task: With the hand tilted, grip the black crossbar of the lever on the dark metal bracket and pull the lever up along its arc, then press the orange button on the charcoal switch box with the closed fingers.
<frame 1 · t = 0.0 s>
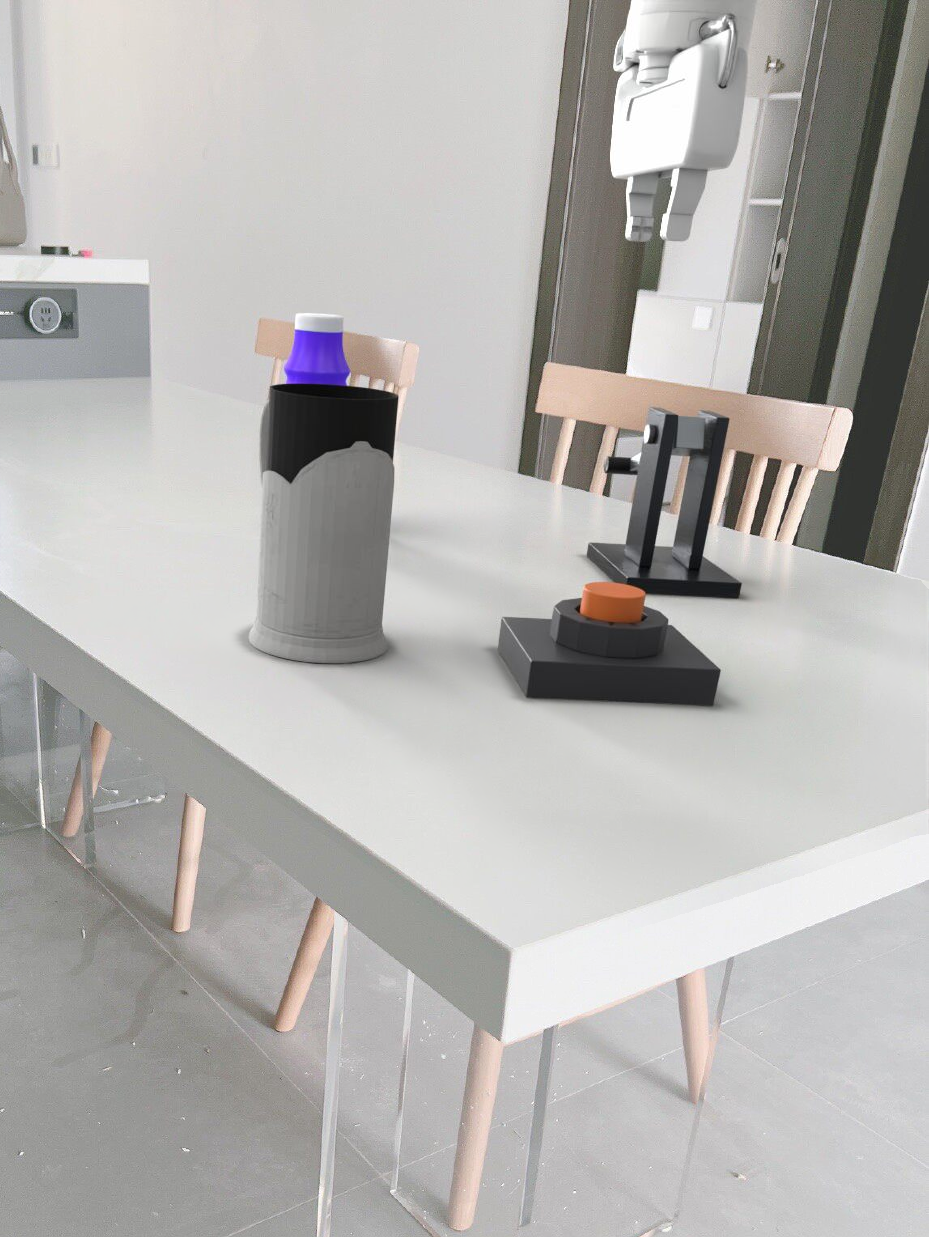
hand: (654, 241, 95), 25 cm above the table, tool pointing down, fingers open, 8 cm apart
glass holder: (299, 632, 79), on the table
button: (612, 604, 72), point 4 cm above the table, slide at 0.1 cm
switch box: (600, 676, 74), on the table
lever: (658, 451, 100), point 9 cm above the table, hinge at -20.0°
bottle: (308, 524, 110), on the table
bracket: (658, 576, 99), on the table
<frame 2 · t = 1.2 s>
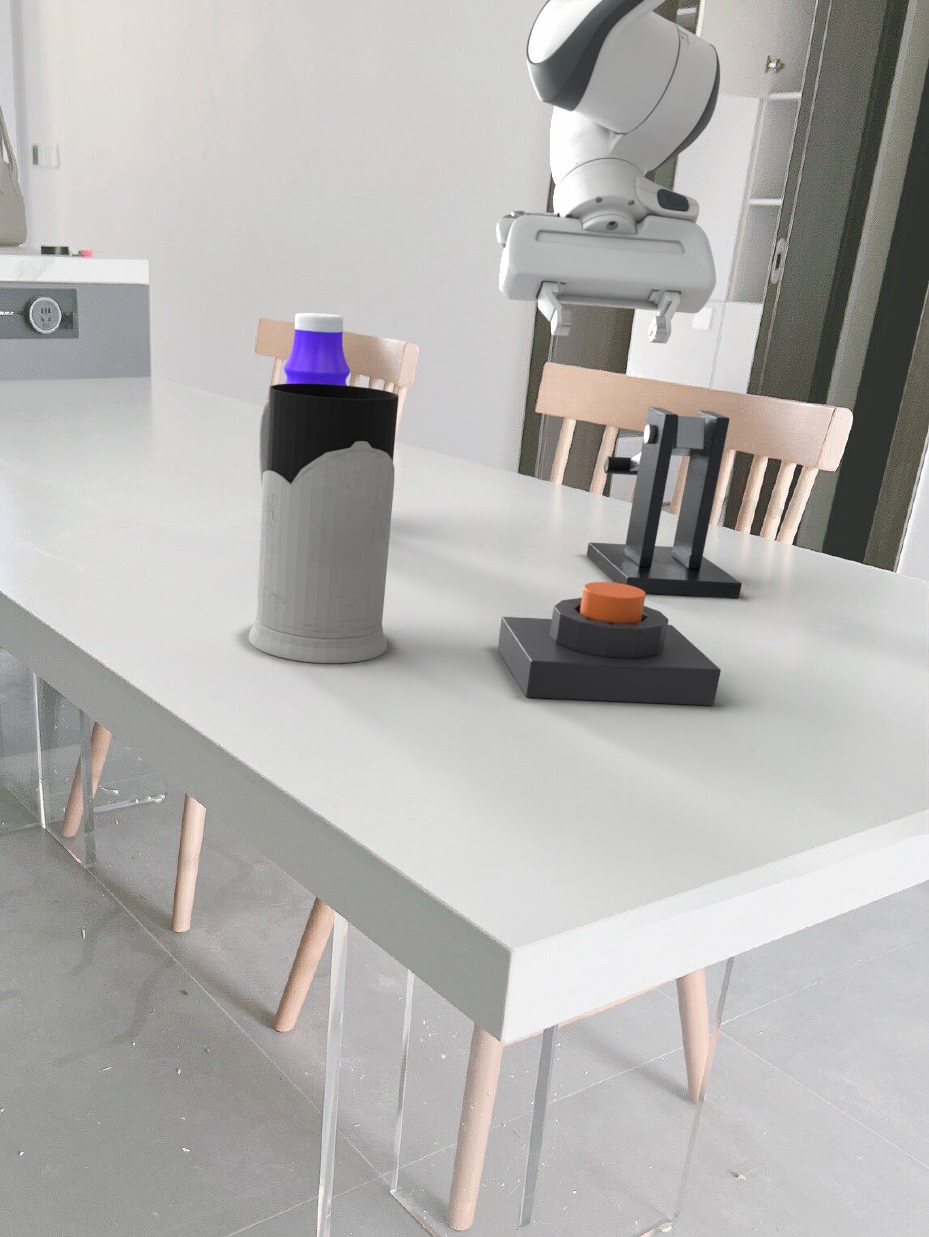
hand: (611, 335, 113), 17 cm above the table, tool tilted 45°, fingers open, 8 cm apart
nothing on the table moved.
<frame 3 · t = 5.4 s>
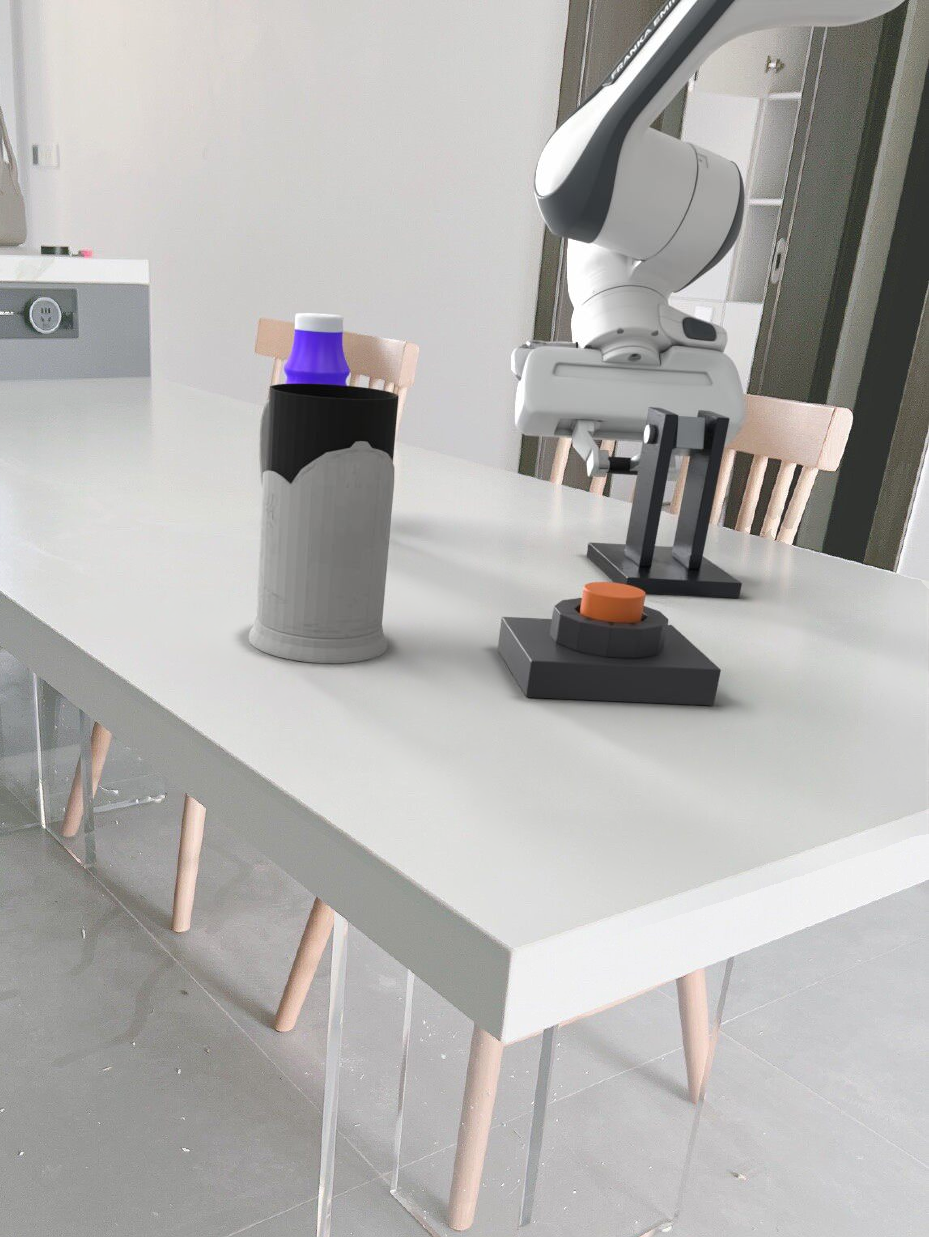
hand: (635, 475, 106), 6 cm above the table, tool tilted 45°, fingers closed on lever, 5 cm apart
lever: (658, 451, 100), point 9 cm above the table, hinge at -20.0°, touching gripper
everything else where it was.
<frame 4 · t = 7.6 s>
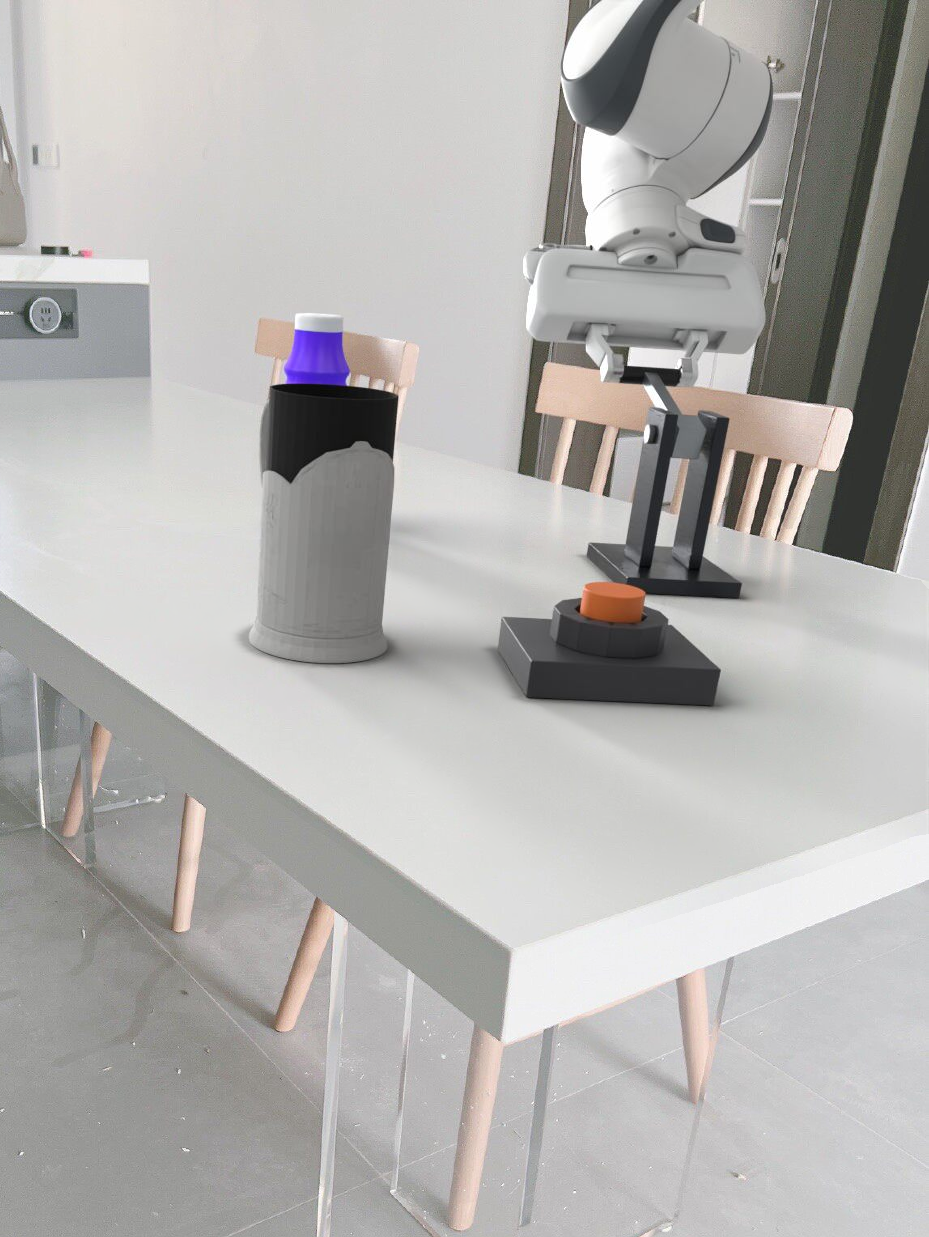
hand: (650, 380, 103), 14 cm above the table, tool tilted 45°, fingers closed on lever, 5 cm apart
lever: (666, 406, 99), point 13 cm above the table, hinge at 16.4°, touching gripper
everything else where it was.
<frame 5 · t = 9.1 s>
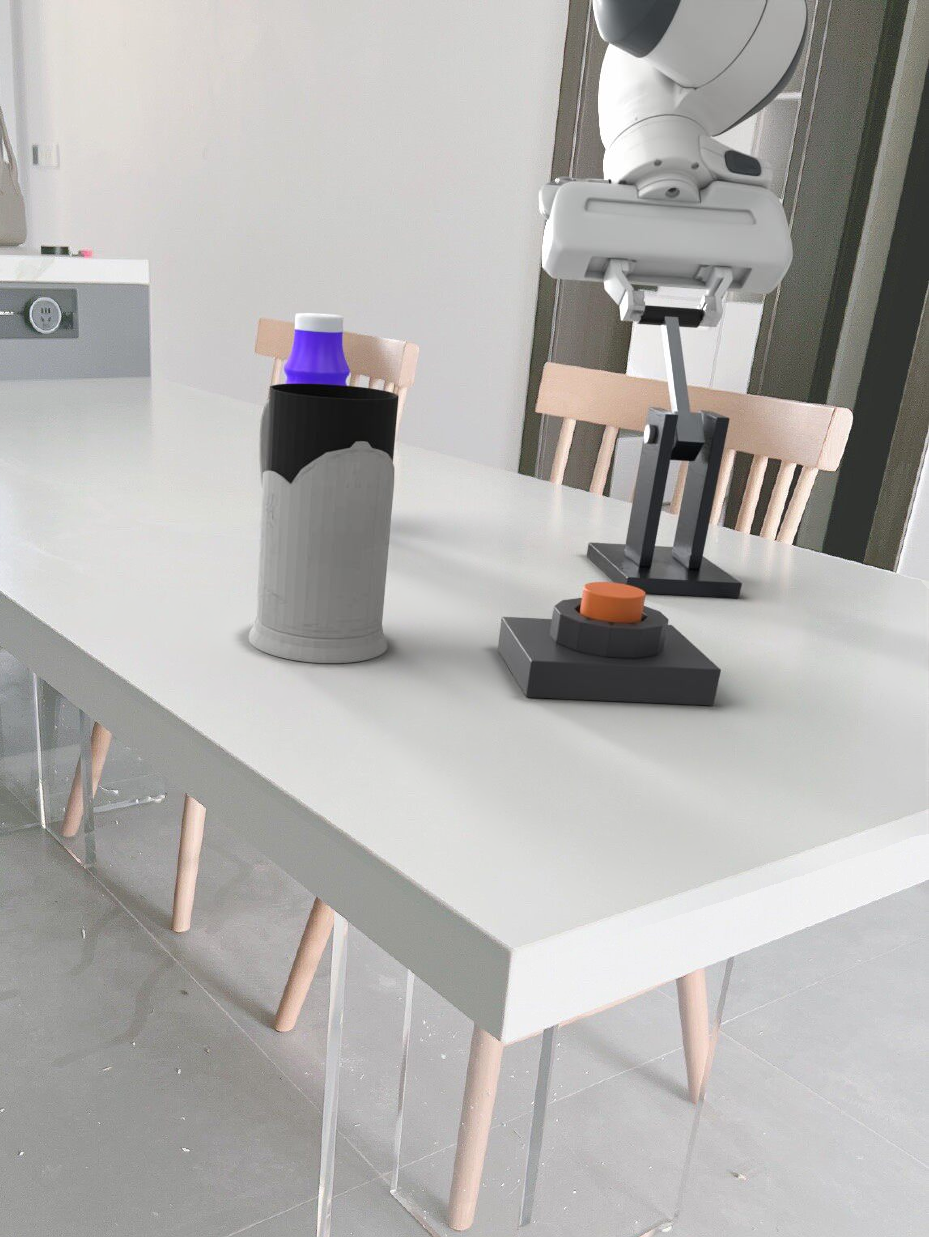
hand: (672, 318, 98), 19 cm above the table, tool tilted 45°, fingers closed on lever, 5 cm apart
lever: (676, 378, 97), point 15 cm above the table, hinge at 43.3°, touching gripper
everything else where it was.
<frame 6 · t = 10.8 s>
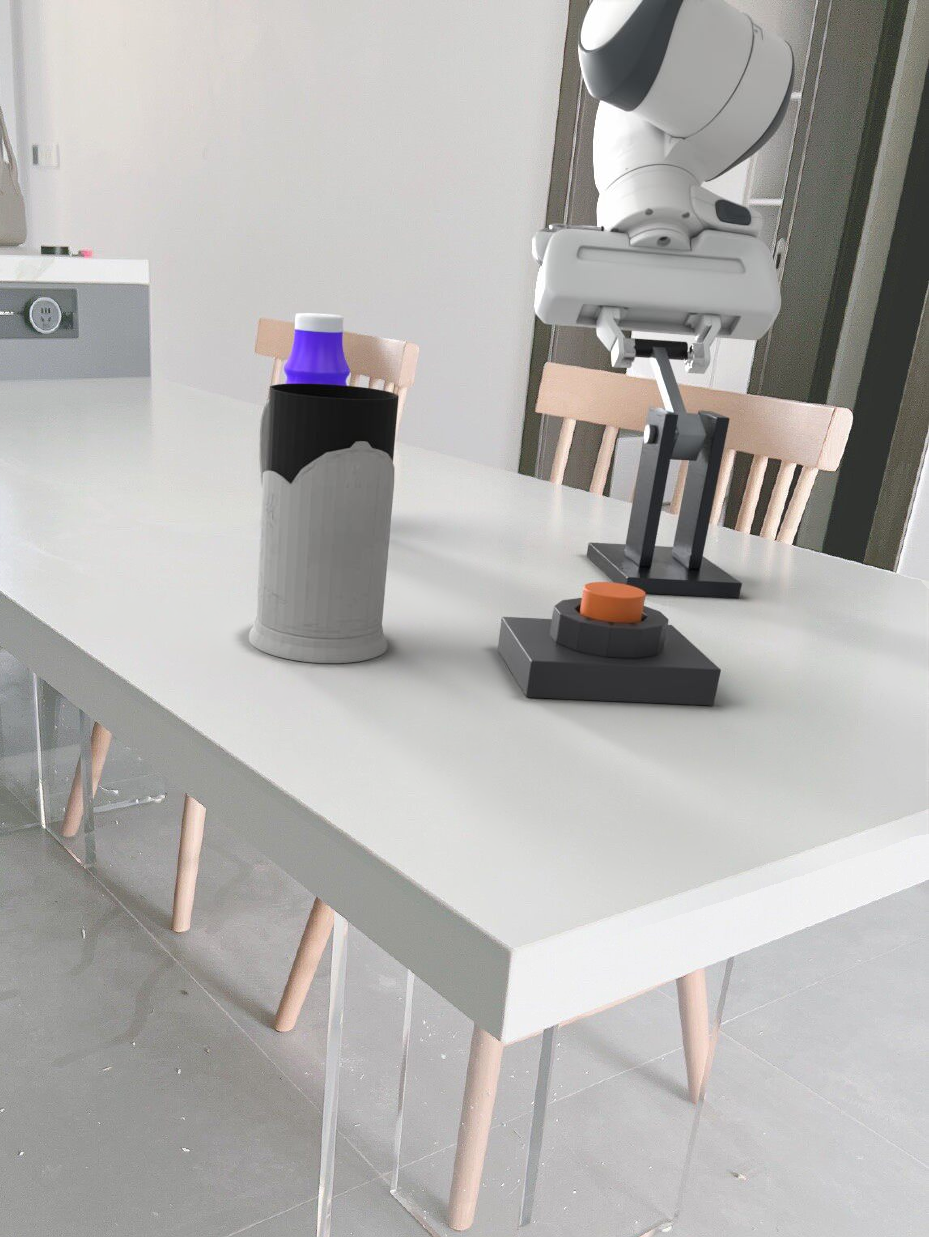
hand: (661, 365, 100), 15 cm above the table, tool tilted 45°, fingers closed on lever, 5 cm apart
lever: (670, 393, 98), point 14 cm above the table, hinge at 27.8°, touching gripper
everything else where it was.
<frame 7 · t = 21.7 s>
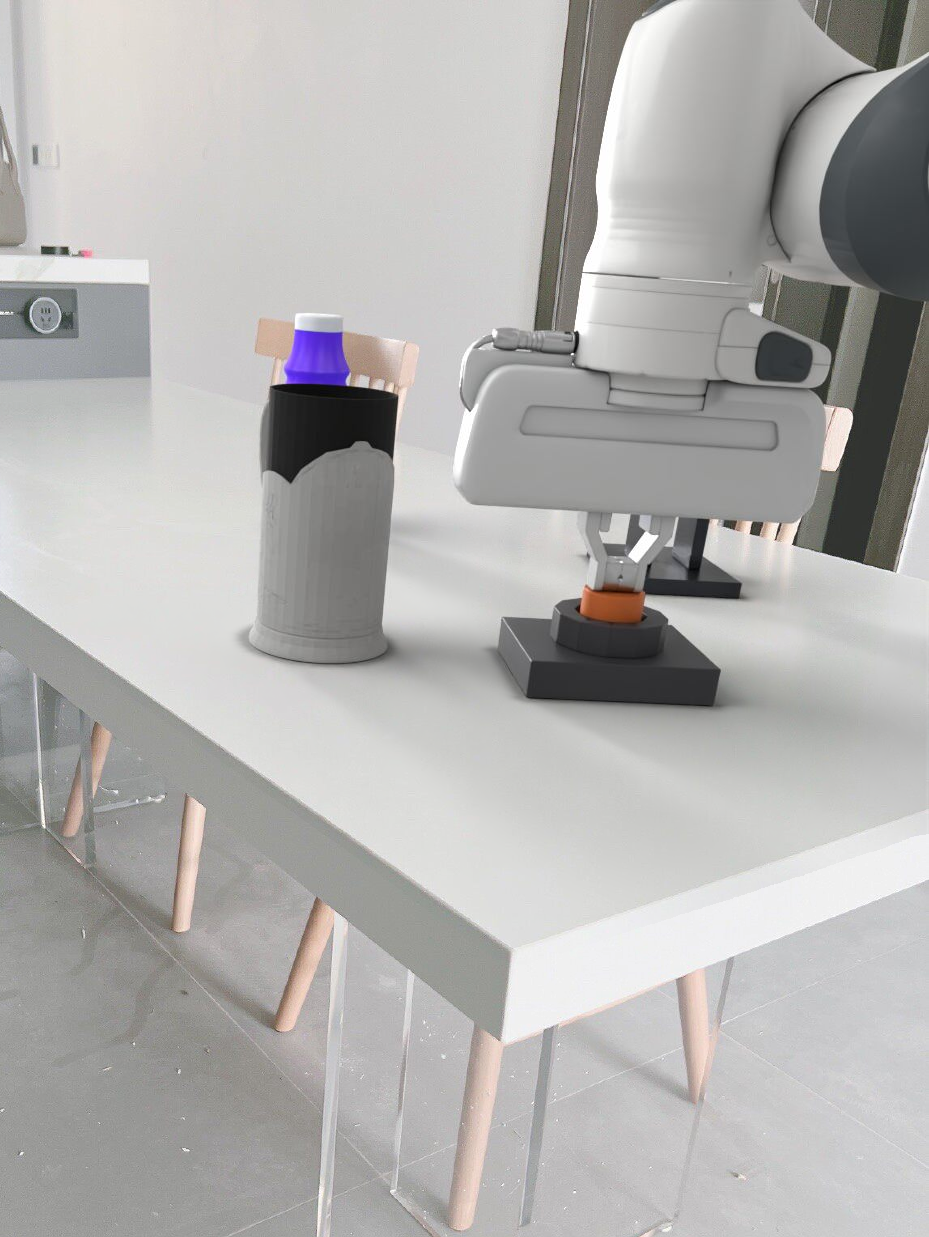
hand: (613, 589, 71), 5 cm above the table, tool pointing down, fingers closed, pressing on button
button: (612, 604, 72), point 4 cm above the table, slide at 0.1 cm, touching gripper
lever: (670, 393, 98), point 14 cm above the table, hinge at 27.9°
everything else where it was.
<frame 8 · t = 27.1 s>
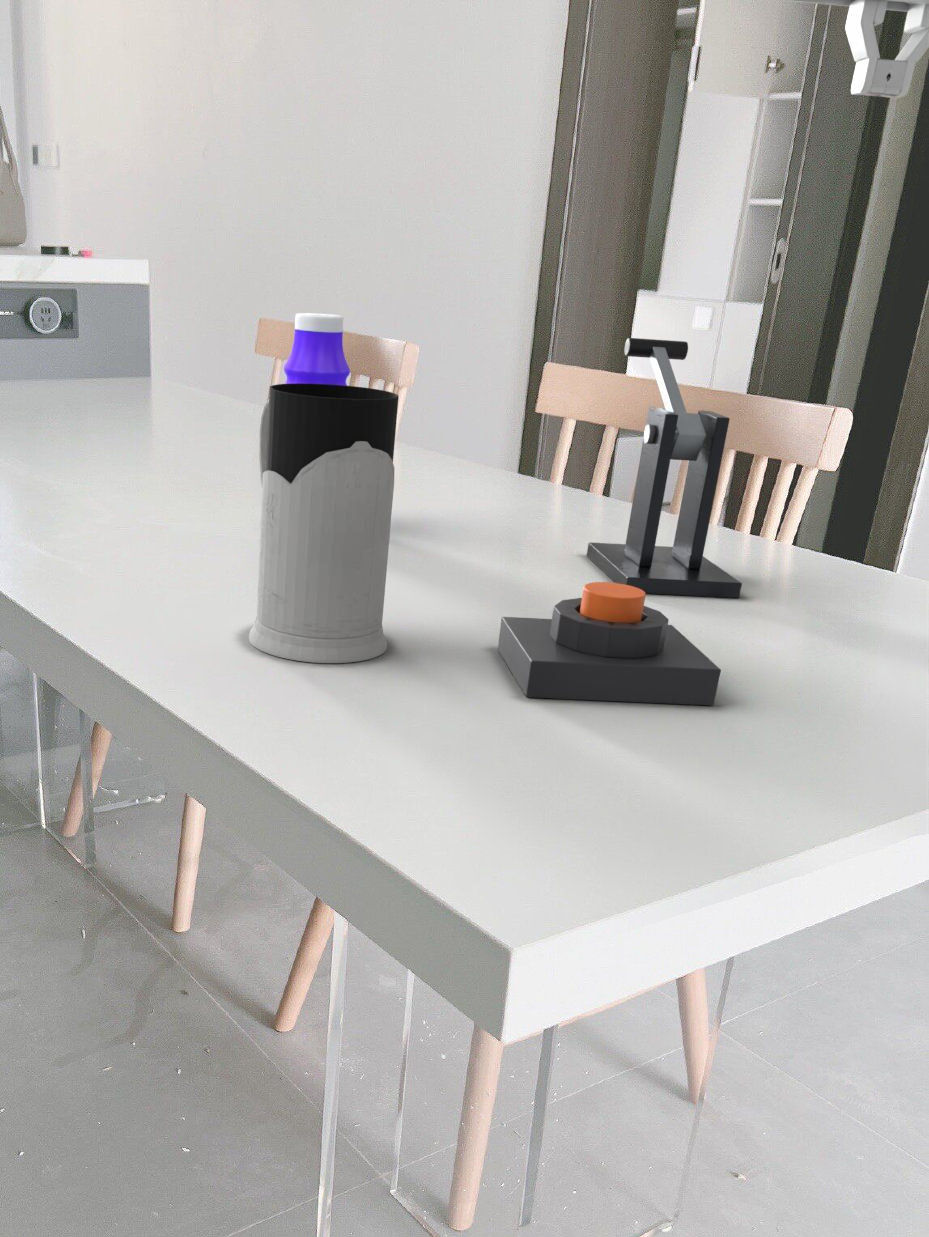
hand: (878, 95, 75), 33 cm above the table, tool pointing down, fingers closed
button: (612, 604, 72), point 4 cm above the table, slide at 0.1 cm
everything else where it was.
at the end: lever at +28° (first picture: -20°); button pushed in 1.1 cm at the most during the clip, back to where it started at the end; button slide at 0.1 cm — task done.
